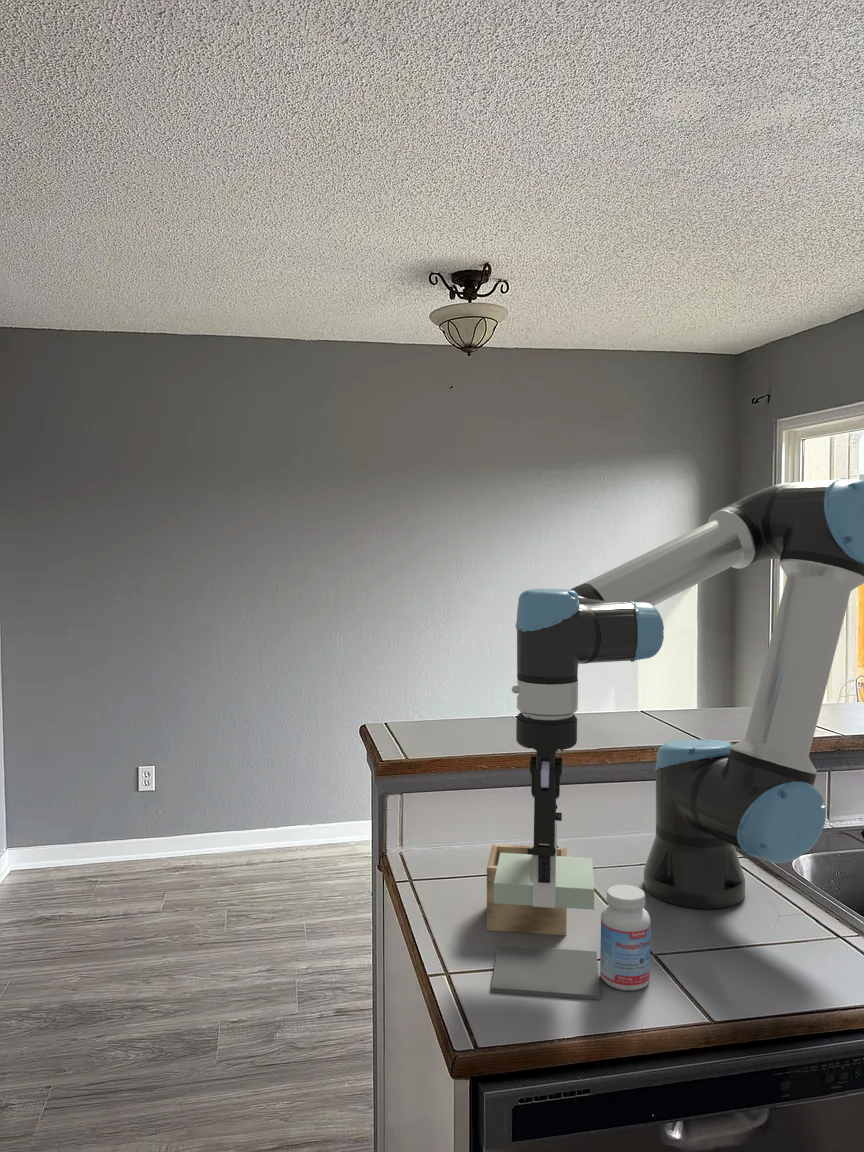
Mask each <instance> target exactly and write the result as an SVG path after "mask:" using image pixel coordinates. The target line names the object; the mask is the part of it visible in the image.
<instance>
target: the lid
mask: <svg viewBox="0 0 864 1152" xmlns="http://www.w3.org/2000/svg"><path fill="white" fill-rule="evenodd" d="M593 867H594V865H593V857H583V856H582V857H581V856H556V895H555V907H561V908H567V909H578V910H579V909H580V910H595V881H594V868H593ZM494 903H500V904H515V905H530V906H533V855H528V854H515V853H500V856H499V861H498V866H497V870H496V875H495V880H494Z"/></svg>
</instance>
